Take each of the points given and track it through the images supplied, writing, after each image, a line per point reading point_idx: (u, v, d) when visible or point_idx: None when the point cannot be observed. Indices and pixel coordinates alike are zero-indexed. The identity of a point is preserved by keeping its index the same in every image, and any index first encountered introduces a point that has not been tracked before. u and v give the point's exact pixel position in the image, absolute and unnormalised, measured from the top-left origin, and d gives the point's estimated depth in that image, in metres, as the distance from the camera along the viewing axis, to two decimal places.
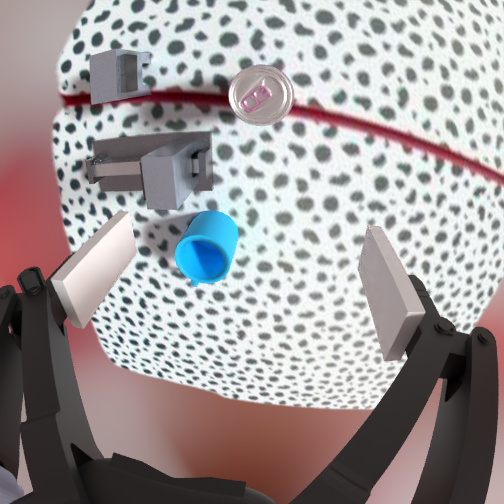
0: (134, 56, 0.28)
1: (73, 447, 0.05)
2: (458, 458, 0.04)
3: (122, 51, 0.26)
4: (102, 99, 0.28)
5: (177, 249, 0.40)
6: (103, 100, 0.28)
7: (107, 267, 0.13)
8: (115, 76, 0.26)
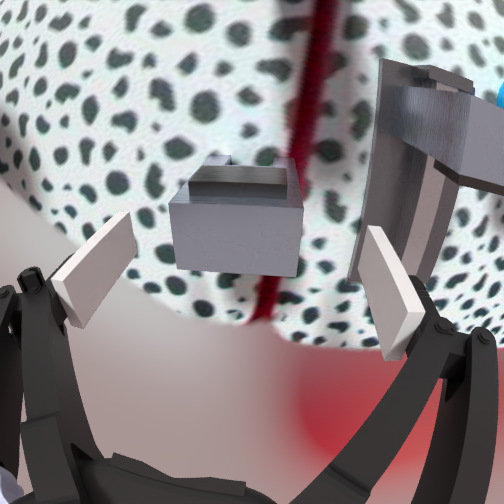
0: (203, 169, 0.16)
1: (73, 447, 0.05)
2: (458, 459, 0.04)
3: (182, 191, 0.15)
4: (292, 247, 0.15)
5: None
6: (295, 246, 0.15)
7: (107, 267, 0.13)
8: (240, 207, 0.14)
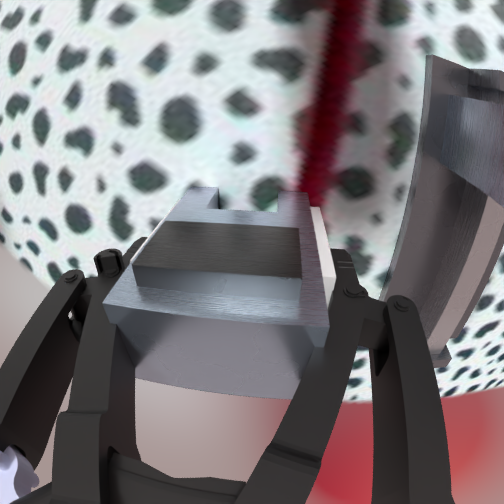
0: (164, 230, 0.10)
1: (110, 448, 0.05)
2: (404, 433, 0.05)
3: (129, 274, 0.09)
4: (303, 372, 0.09)
5: None
6: None
7: None
8: (216, 321, 0.08)
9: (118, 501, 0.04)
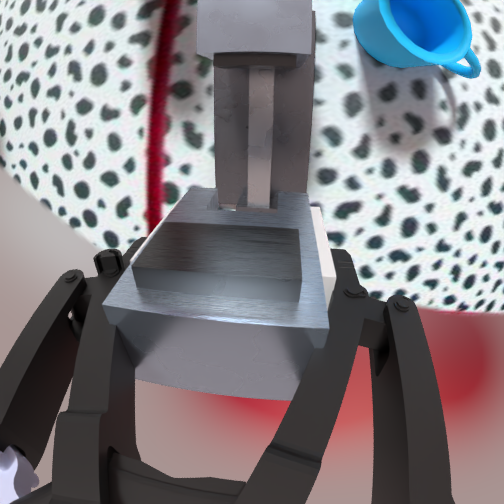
0: (163, 231, 0.10)
1: (110, 448, 0.05)
2: (405, 433, 0.05)
3: (129, 275, 0.09)
4: (303, 373, 0.09)
5: (410, 49, 0.14)
6: None
7: None
8: (216, 323, 0.08)
9: (118, 501, 0.04)
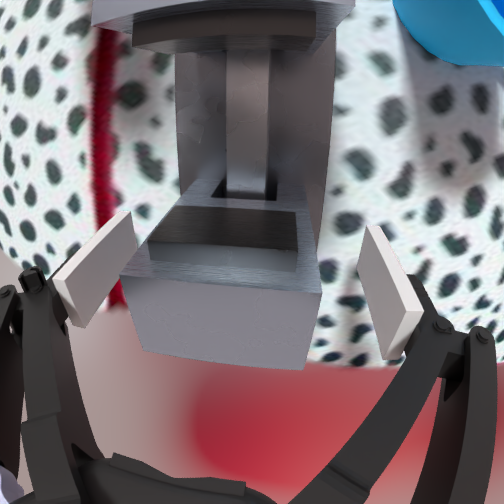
0: (174, 212, 0.11)
1: (74, 447, 0.05)
2: (457, 458, 0.04)
3: (143, 250, 0.10)
4: (300, 339, 0.10)
5: None
6: (305, 338, 0.10)
7: (108, 267, 0.13)
8: (223, 288, 0.09)
9: (95, 492, 0.04)
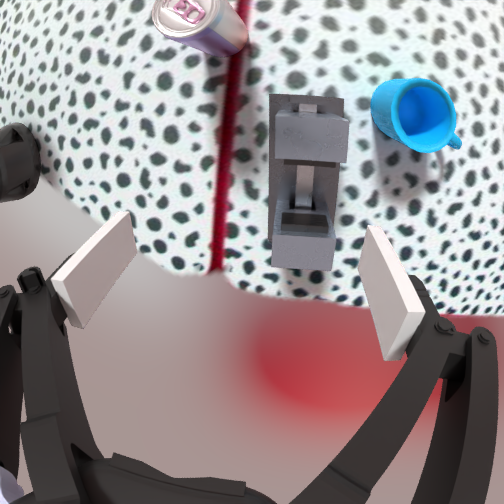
0: (283, 215, 0.32)
1: (73, 447, 0.05)
2: (458, 458, 0.04)
3: (276, 227, 0.31)
4: (330, 256, 0.30)
5: (409, 144, 0.25)
6: (331, 255, 0.30)
7: (107, 267, 0.13)
8: (307, 237, 0.30)
9: (94, 492, 0.04)
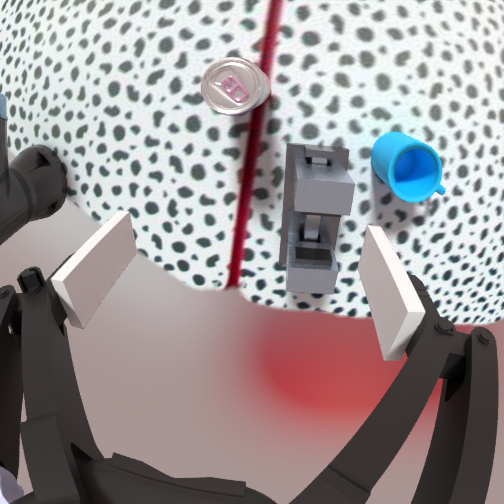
0: (296, 249, 0.40)
1: (73, 447, 0.05)
2: (458, 458, 0.04)
3: (290, 260, 0.39)
4: (332, 283, 0.38)
5: (401, 196, 0.34)
6: (333, 283, 0.38)
7: (107, 267, 0.13)
8: (316, 269, 0.37)
9: (95, 492, 0.04)
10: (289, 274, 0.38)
